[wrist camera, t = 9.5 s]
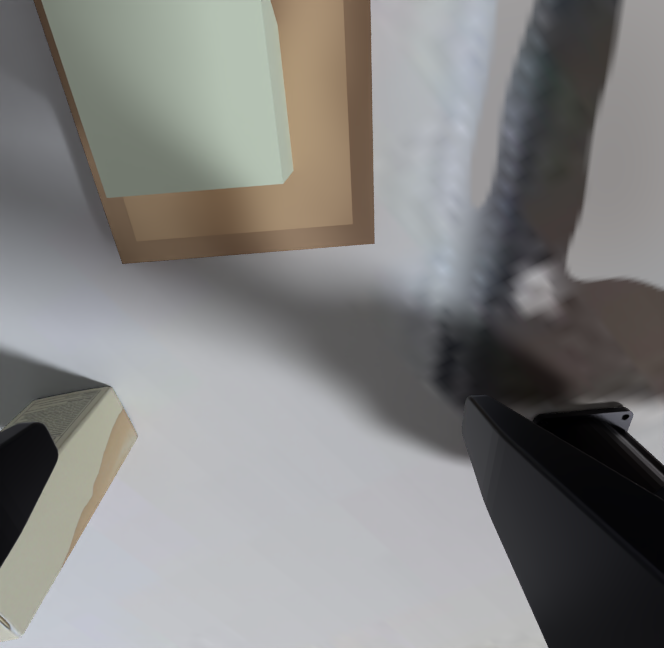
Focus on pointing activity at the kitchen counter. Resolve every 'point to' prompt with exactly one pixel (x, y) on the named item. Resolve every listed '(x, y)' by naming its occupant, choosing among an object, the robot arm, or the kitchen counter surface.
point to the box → (63, 495)
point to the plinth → (306, 146)
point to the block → (176, 92)
